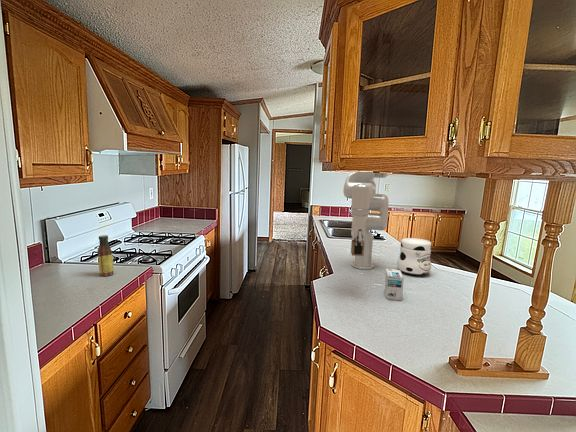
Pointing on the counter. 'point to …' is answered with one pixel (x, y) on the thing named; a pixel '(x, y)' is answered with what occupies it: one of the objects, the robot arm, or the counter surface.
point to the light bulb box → (394, 284)
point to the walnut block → (354, 248)
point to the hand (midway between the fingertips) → (357, 251)
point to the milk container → (415, 256)
